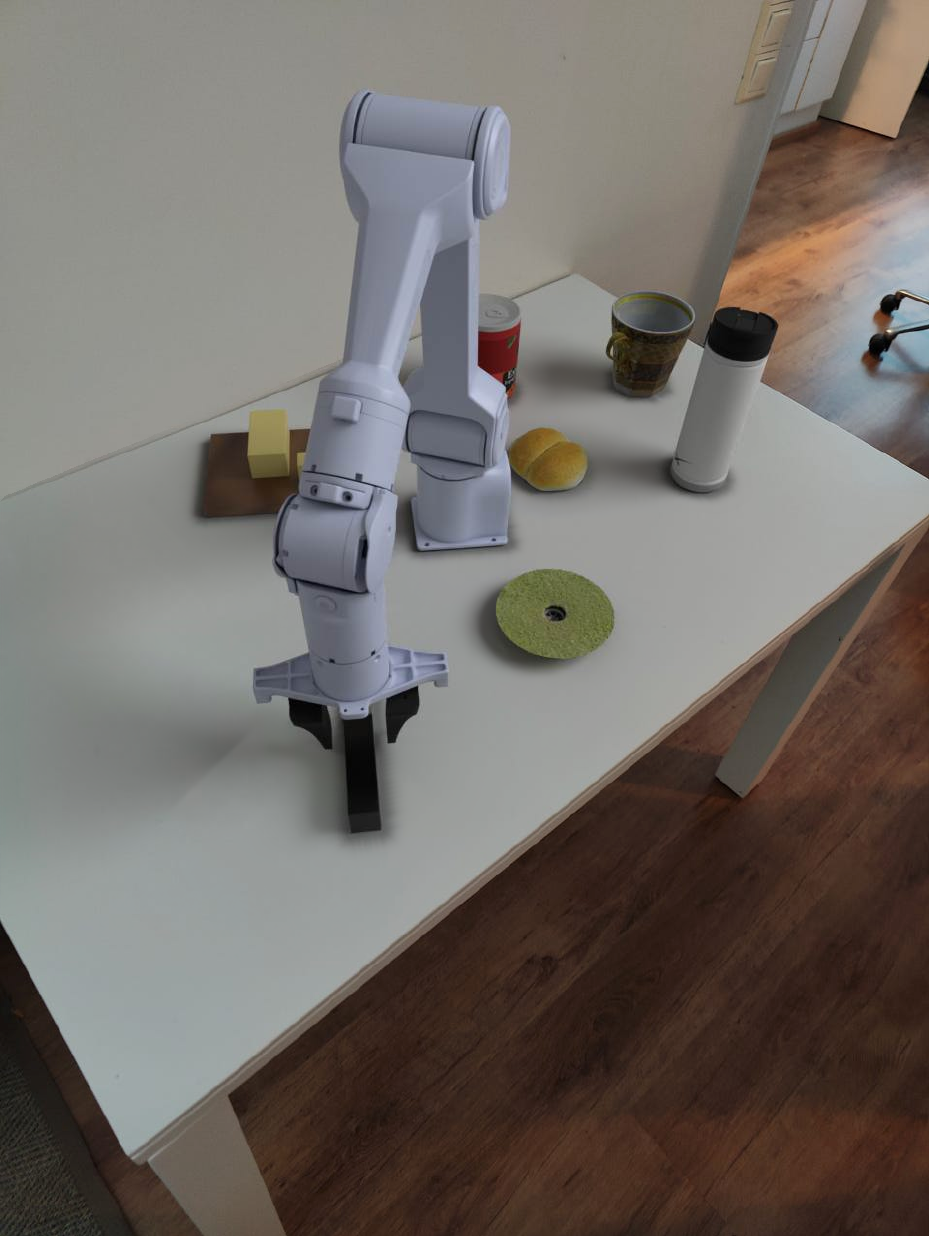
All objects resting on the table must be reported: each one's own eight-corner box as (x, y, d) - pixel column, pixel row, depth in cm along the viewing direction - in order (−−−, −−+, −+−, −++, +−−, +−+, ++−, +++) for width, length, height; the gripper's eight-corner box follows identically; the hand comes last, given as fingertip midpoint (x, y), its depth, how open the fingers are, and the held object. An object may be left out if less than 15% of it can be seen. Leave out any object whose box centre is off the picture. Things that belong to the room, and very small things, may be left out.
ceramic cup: (632, 353, 111) (647, 282, 103) (692, 386, 106) (712, 313, 98) (567, 389, 105) (578, 316, 97) (627, 425, 100) (643, 352, 92)
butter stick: (289, 431, 95) (285, 408, 93) (289, 476, 90) (285, 453, 88) (254, 433, 95) (249, 410, 92) (252, 478, 90) (247, 455, 87)
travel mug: (663, 486, 93) (708, 323, 78) (676, 452, 97) (721, 291, 82) (718, 501, 91) (775, 338, 76) (729, 466, 95) (785, 305, 80)
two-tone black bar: (381, 830, 65) (379, 811, 62) (351, 833, 64) (347, 814, 62) (367, 643, 77) (365, 621, 74) (341, 645, 77) (338, 623, 74)
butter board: (333, 435, 97) (332, 427, 96) (337, 509, 89) (336, 500, 88) (212, 442, 95) (210, 433, 95) (204, 517, 87) (202, 509, 86)
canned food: (515, 409, 101) (522, 328, 93) (450, 407, 101) (452, 325, 93) (513, 374, 106) (520, 293, 98) (452, 372, 106) (454, 291, 98)
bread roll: (551, 505, 90) (555, 476, 87) (496, 464, 94) (498, 435, 91) (602, 474, 94) (608, 446, 91) (547, 436, 98) (551, 408, 95)
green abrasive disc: (470, 628, 78) (471, 614, 77) (540, 565, 84) (542, 551, 83) (566, 691, 74) (569, 678, 72) (633, 620, 80) (637, 607, 78)
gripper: (240, 687, 55) (270, 787, 65) (455, 668, 56) (451, 769, 67) (244, 608, 59) (272, 713, 70) (443, 593, 61) (441, 698, 71)
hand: (359, 736), depth 68 cm, fingers open, 5 cm apart
